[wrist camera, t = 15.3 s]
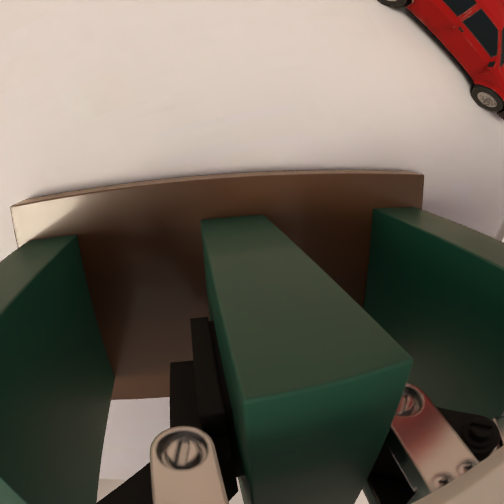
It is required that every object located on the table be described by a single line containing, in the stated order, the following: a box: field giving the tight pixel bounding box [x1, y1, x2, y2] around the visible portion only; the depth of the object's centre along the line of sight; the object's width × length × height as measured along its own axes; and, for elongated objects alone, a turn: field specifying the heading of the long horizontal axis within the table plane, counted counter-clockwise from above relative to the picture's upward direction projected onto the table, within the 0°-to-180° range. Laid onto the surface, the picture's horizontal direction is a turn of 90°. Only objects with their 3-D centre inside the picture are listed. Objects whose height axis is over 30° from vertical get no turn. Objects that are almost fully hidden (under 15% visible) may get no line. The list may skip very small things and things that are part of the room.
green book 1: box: [0, 235, 115, 504], centre depth 8 cm, size 2×7×9 cm, turn 2°
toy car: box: [378, 0, 504, 120], centre depth 10 cm, size 6×14×5 cm, turn 60°
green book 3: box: [363, 207, 504, 420], centre depth 10 cm, size 2×7×9 cm, turn 2°
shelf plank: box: [10, 170, 424, 400], centre depth 14 cm, size 10×18×2 cm, turn 92°
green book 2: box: [200, 215, 413, 504], centre depth 9 cm, size 2×7×9 cm, turn 2°
